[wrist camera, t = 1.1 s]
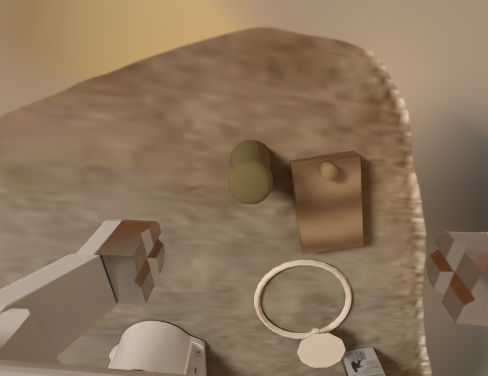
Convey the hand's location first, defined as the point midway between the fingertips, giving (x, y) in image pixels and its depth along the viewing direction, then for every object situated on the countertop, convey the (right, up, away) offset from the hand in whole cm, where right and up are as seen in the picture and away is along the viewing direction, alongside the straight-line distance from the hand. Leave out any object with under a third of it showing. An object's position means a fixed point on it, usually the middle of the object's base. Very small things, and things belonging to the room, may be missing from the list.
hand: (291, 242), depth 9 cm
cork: (0, +6, +33) cm, 34 cm away
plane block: (+11, 0, +35) cm, 37 cm away
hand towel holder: (+10, -19, +43) cm, 48 cm away
